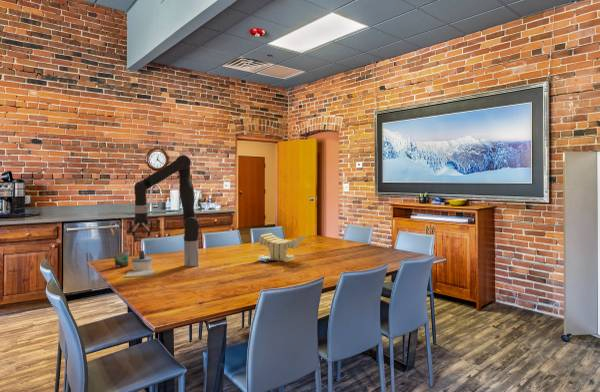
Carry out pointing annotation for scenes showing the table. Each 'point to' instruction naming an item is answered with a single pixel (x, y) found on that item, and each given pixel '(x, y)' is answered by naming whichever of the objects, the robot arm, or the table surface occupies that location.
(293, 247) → the slatted curved stool
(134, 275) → the mat
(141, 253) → the lid
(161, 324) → the table surface
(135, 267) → the bowl
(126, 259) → the food container
